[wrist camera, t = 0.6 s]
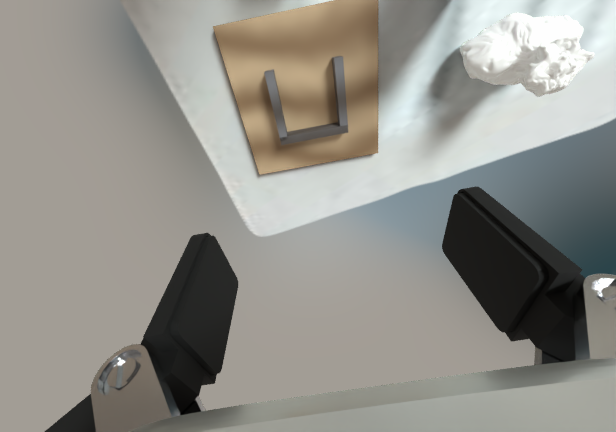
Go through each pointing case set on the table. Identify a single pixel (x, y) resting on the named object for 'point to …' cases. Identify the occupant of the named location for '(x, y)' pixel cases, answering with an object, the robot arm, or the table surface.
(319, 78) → the end holder
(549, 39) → the bust
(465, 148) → the table surface
